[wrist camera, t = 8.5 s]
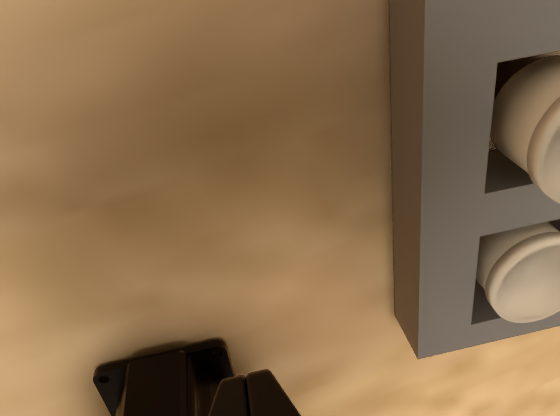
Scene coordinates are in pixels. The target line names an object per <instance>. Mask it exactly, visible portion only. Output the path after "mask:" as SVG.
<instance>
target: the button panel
mask: <svg viewBox="0 0 560 416" xmlns="http://www.w3.org/2000/svg"><path fill="white" fill-rule="evenodd" d="M389 20H390V78H391V136H392V194H393V253H394V311H395V316H396V318H397V320H398V322H399V324H400V326H401V328H402V330H403V332H404V334H405V336H406V337H407V339H408V341H409V343H410V345H411V347H412V349H413V351H414V353H415V355H416V357H417V358H418V359H421V358H425V357H430V356H434V355H438V354H442V353H447V352H451V351H455V350H459V349H464V348H468V347H472V346H476V345H480V344H485V343H489V342H493V341H497V340H502V339H506V338H510V337H514V336H519V335H523V334H527V333H531V332H535V331H540V330H544V329H548V328H552V327H557V326H560V311H559V312H557V313H555V314H554V315H551V316H549V317H547V318H544V319H542V320H538V321H534V322H529V323H515V322H510V321H507V320H505V319H503V318H502V317H500V316H499V315H498V314H497V313H496V311H495V310H494V309H493V308H492V306H491V305H490V304H489V302H488V301H487V298H486V295H485V290H484V289H483V287H482V286H481V285H480V284H479V282H478V281H477V280H476V270H477V260H478V251H479V241H480V236H485V235H489V234H494V233H498V232H503V231H507V230H512V229H516V228H521V227H525V226H530V225H534V224H539V223H544V222H549V223H550V224H551V225H552V226H553V227H555V228H556V229H557V230H558V231H559V232H560V203H558V202H555V201H554V200H552V199H551V198H550V197H548V196H547V195H546V194H544V193H543V192H542V191H541V190H539V189H538V188H537V187H536V186H535V185H534V183H533V182H532V180H531V178H530V176H529V173H527V172H526V171H525V170H523V169H522V168H521V167H519V166H518V165H517V164H515V163H514V162H513V161H511V160H510V159H509V158H508V157H506V156H505V155H504V154H502V153H501V152H500V151H499V150H494V151H489V142H490V132H491V122H492V112H493V102H494V92H495V83H496V73H497V63H498V62H504V61H509V60H514V59H519V58H524V57H529V56H534V55H539V54H545V53H550V52H555V51H560V0H389Z"/></svg>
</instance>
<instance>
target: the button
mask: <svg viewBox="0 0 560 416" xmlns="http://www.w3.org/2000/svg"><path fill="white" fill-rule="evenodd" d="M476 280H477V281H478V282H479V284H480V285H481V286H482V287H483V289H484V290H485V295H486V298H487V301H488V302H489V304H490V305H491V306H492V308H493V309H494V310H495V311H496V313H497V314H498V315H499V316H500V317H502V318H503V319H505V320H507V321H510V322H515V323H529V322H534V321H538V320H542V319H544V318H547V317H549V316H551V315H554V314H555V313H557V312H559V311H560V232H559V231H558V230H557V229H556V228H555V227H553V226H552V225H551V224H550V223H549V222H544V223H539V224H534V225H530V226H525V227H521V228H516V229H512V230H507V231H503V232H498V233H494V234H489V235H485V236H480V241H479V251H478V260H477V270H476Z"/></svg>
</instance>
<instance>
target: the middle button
mask: <svg viewBox="0 0 560 416" xmlns="http://www.w3.org/2000/svg"><path fill="white" fill-rule="evenodd" d="M490 137H491V140H492V142H493V144H494V146H495V147H496V148H497V149H498V150H499V151H500V152H501V153H502V154H504V155H505V156H506V157H508V158H509V159H510V160H511V161H513V162H514V163H515V164H517V165H518V166H519V167H521V168H522V169H523V170H525V171H526V172H527V173H529V176H530V178H531V180H532V182H533V183H534V185H535V186H536V187H537V188H538V189H539V190H541V191H542V192H543V193H544V194H546V195H547V196H548V197H550V198H551V199H552V200H554V201H555V202H558V203H560V55H554V56H547V57H543V58H540V59H538V60H535V61H533V62H531V63H529V64H527V65H526V66H524V67H523V68H521V69H520V70H519V71H517V72H516V73H515V74H514V75H513V76H512V77H511V78H510V79H509V80H508V81H507V82H506V83H505V84H504V86H503V87H502V89H501V90H500V91H499V93H498V95H497V97H496V98H495V100H494V103H493V112H492V122H491V132H490Z"/></svg>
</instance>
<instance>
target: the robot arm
mask: <svg viewBox="0 0 560 416" xmlns="http://www.w3.org/2000/svg"><path fill="white" fill-rule="evenodd" d="M215 350H219V351H215ZM104 376H107V377H104ZM93 382H94V384H95V386H96V388H97V389H98V391H99V393H100V395H101V397H102V399H103V401H104V403H105V404H106V406H107V408H108V410H109V412H110V414H111V416H301V415H300V414H299V412H298V411H297V409H296V408H295V406H294V405H293V403H292V402H291V400H290V399H289V397H288V396H287V395H286V393H285V392H284V390H283V389H282V387H281V386H280V384H279V383H278V381H277V380H276V378H275V377H274V375H273V374H272V373H271V371H269V370H267V369H264V370H260V371H256V372H251V373H249V374H247V375H246V378H245V376H243V375H239V376H235V374H234V370H233V367H232V363H231V360H230V357H229V353H228V350H227V346H226V344H225V343H224V342H223V341H219V340H217V341H211V342H206V343H202V344H198V345H193V346H189V347H184V348H180V349H176V350H171V351H167V352H162V353H158V354H153V355H149V356H145V357H140V358H136V359H131V360H127V361H123V362H118V363H114V364H109V365H105V366H101V367H98V368H97V369H96V370H95V372H94V377H93Z"/></svg>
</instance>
